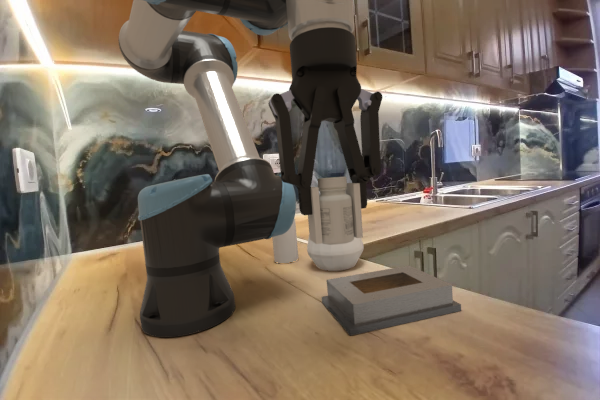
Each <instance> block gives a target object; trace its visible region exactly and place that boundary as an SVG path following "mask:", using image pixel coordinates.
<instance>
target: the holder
mask: <svg viewBox="0 0 600 400" xmlns="http://www.w3.org/2000/svg"><path fill="white" fill-rule="evenodd" d="M326 288H327V289H326V290H327V295H324V296H323V295H322V296H321V303H322V305H323V306H324V307H325V308H326V309H327V310H328V311H329V312H330V314H331V315H332V316H333V318H334V319H335V320H336V321H337V322H338V324H340V327H342V328H343V329H344V330H345V332H346V333H347V334H348V335H349V336H350V337H351V336H356V335H359V334H364V333H369V332H373V331H378V330H381V329H387V328H391V327H396V326H399V325H405V324H408V323H412V322H417V321H422V320H426V319H432V318H435V317H439V316H444V315H448V314H453V313H456V312H457V313H458V312H462V304H461V303H458V302H457V301H455V300H453V297H454V296H453V284H451V283H449V282H446V281H444V280H442V279H440V278H438V277H435V276H434V275H431V274H428V273H427V272H425V271H423V270H420V269H418V268H416V267H413V266H412V265H409V264H408V265H403V266H398V267H392V268H386V269H380V270H375V271H369V272H368V271H367V272H363V273H358V274H353V275H348V276H347V275H345V276H340V277H335V278H329V279H326Z"/></svg>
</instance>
